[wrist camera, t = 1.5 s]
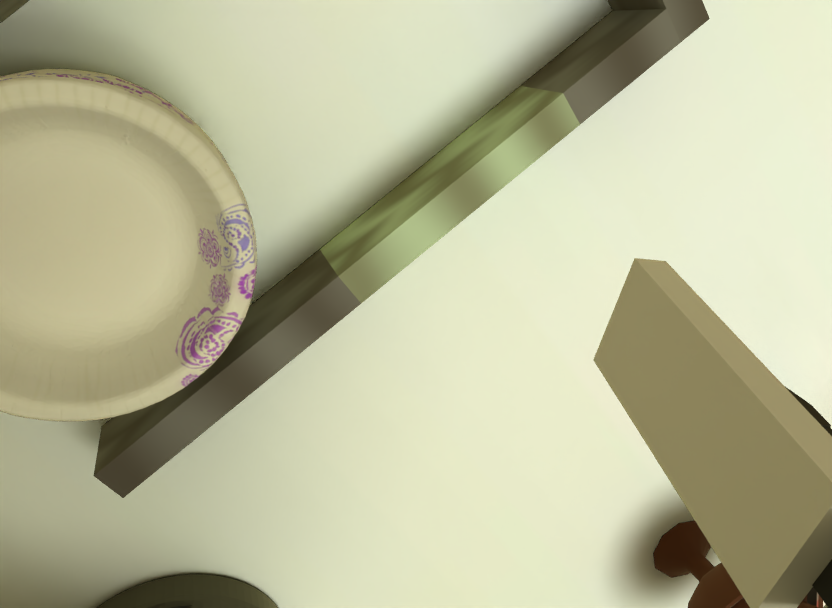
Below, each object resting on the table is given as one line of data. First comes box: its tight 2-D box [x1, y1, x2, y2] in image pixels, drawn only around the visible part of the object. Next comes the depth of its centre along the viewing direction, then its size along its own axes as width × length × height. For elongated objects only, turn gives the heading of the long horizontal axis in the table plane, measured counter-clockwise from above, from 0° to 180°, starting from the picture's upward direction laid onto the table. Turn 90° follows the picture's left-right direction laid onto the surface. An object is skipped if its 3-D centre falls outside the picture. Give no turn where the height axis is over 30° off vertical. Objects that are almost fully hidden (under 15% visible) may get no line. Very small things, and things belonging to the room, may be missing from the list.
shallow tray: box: [0, 0, 709, 498], centre depth 34 cm, size 40×22×5 cm, turn 125°
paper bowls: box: [0, 69, 257, 421], centre depth 33 cm, size 15×15×8 cm
